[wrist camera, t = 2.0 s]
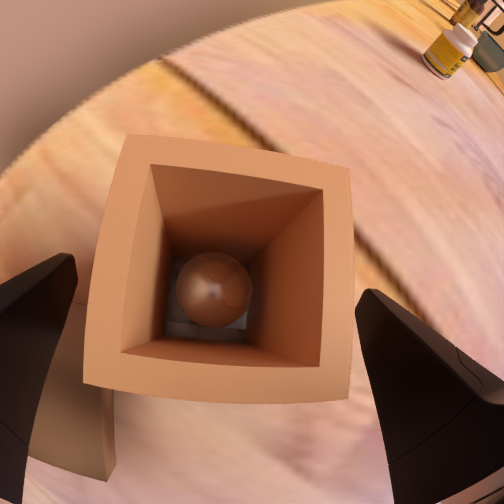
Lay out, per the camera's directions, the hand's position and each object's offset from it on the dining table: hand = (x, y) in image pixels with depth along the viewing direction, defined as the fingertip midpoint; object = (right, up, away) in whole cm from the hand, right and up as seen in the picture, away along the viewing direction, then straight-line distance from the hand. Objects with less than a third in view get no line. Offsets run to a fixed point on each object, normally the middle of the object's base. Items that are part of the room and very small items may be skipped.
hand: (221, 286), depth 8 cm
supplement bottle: (+29, +29, +23) cm, 47 cm away
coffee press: (+96, +98, +54) cm, 147 cm away
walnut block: (-12, -7, +5) cm, 14 cm away
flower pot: (+58, +48, +33) cm, 82 cm away
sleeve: (-1, -1, +5) cm, 5 cm away
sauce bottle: (+63, +70, +40) cm, 103 cm away
